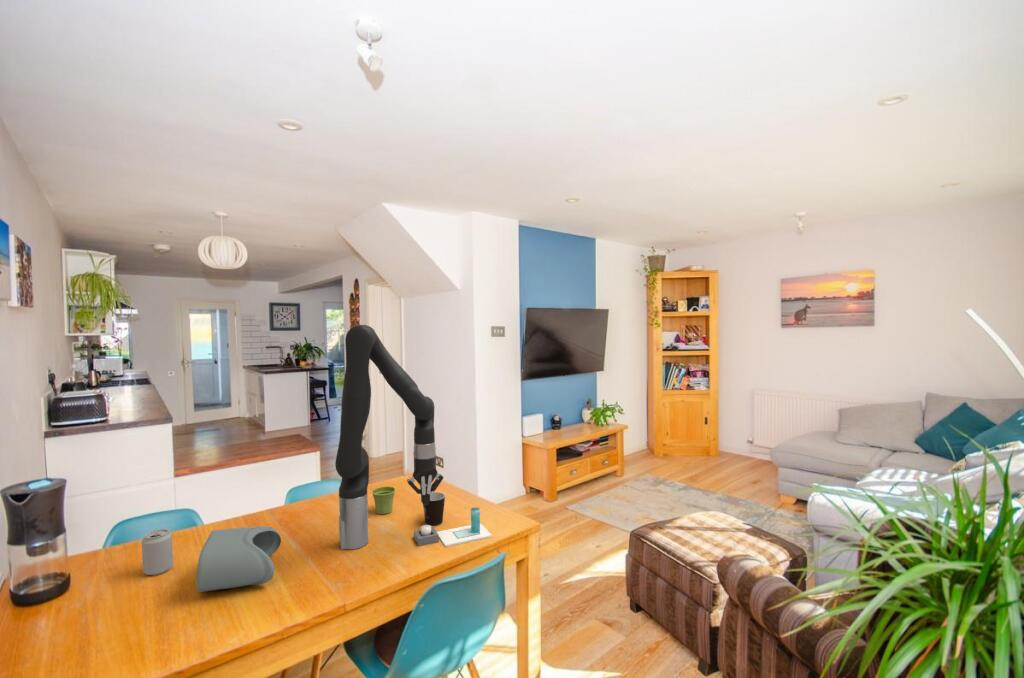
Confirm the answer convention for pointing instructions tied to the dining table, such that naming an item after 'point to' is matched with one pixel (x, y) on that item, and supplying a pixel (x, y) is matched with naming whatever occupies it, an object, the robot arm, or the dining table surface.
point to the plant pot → (383, 499)
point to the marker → (475, 520)
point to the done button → (425, 530)
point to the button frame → (426, 537)
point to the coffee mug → (434, 509)
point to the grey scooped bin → (237, 558)
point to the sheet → (462, 535)
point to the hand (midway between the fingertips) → (425, 504)
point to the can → (157, 552)
